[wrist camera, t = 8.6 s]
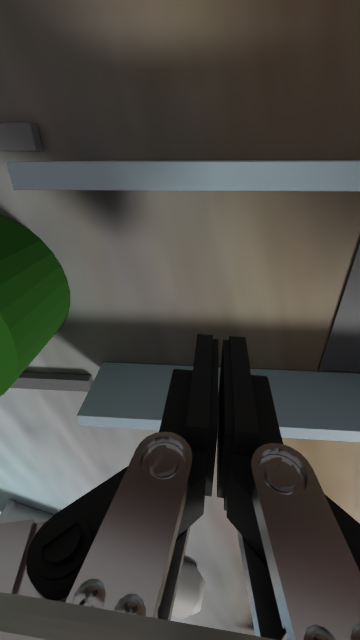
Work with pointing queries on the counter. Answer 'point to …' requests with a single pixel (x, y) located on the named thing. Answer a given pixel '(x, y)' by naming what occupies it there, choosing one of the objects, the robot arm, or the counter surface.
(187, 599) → the tube
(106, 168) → the pale blue tray
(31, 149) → the strips
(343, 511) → the robot arm
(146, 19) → the counter surface
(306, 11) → the counter surface
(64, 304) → the candle
